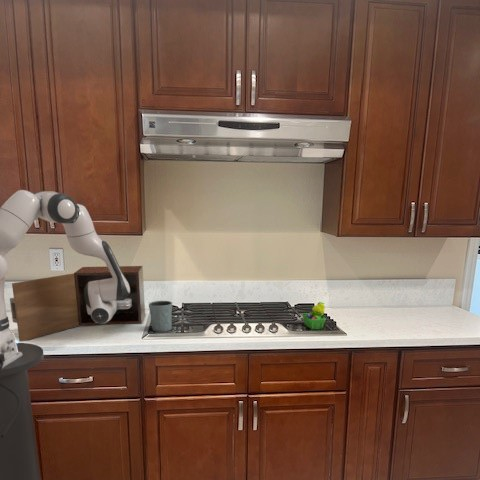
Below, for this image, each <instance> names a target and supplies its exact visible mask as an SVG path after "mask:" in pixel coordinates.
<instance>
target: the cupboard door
mask: <svg viewBox="0 0 480 480" xmlns="http://www.w3.org/2000/svg"><path fill="white" fill-rule="evenodd" d="M11 288H12V294H13V297H9V304H10V311H11V319H12V323H14V324H16V325H17V332H18V333H17V334H18V342H19V343H22V342H25V341H29V340H33V339H36V338H40V337H43V336H47V335H51V334H55V333H58V332H61V331H66V330H69V329H72V328H77V327H80V326H79V321H78V310H77V299H76V289H75V278H74V273H68V274H62V275H54V276H49V277H42V278H37V279H29V280H24V281H18V282H12V283H11Z"/></svg>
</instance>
